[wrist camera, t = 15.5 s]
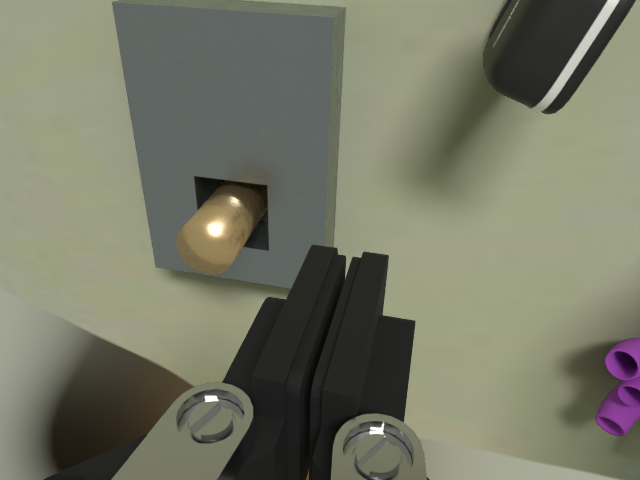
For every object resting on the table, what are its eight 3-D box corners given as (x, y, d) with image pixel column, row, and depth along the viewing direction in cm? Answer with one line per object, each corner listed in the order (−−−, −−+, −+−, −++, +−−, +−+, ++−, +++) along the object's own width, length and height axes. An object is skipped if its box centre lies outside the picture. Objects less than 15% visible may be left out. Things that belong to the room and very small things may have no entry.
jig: (345, 7, 34) (333, 17, 30) (332, 265, 44) (322, 293, 41) (143, -6, 36) (112, 2, 33) (177, 242, 47) (155, 267, 43)
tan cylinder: (273, 170, 41) (231, 227, 33) (273, 215, 43) (234, 278, 35) (224, 164, 41) (172, 218, 34) (227, 208, 44) (179, 269, 36)
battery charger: (533, -77, 29) (570, -73, 20) (595, -49, 29) (662, -31, 20) (470, 44, 33) (475, 95, 24) (525, 69, 33) (552, 130, 24)
